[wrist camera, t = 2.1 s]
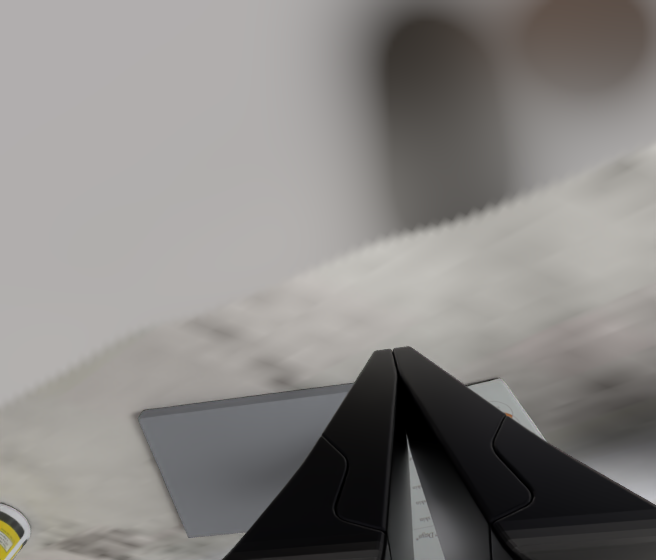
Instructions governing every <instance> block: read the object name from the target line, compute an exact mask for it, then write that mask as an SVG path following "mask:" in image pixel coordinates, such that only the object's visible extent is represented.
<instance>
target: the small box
mask: <svg viewBox="0 0 656 560" xmlns="http://www.w3.org/2000/svg"><path fill="white" fill-rule="evenodd" d="M467 387H468V388H470V389H471V390H473V391H474V392H475V393H477V394H478V395H480V396H481V397H483V398H484V399H485V400H487V401H488V402H490V403H491V404H492V405H494V406H495V407H497V408H498V409H500V410H501V411H502V412H504V413H505V414H506V416H510V417H511V418H513V419H514V420H515V421H517V422H518V423H520V424H521V425H523V426H524V427H525V428H527V429H528V430H530V431H531V432H533V433H535V434H536V435H538V436H539V437H541V438H542V439H544V440H545V438H544V437H543V436H542V434H541V433H540V431H539V430H538V428H537V427H536V425H535V424H534V423H533V421H532V420H531V418H530V417H529V415H528V414H527V413H526V411H525V410H524V408H523V407H522V406H521V404H520V403H519V401H518V400H517V398H516V397H515V396H514V394H513V393H512V391H511V390H510V389H509V387H508V386H507V384H506V383H505V382H504V381H503V379H501V378H499V379H495V380H491V381H487V382H483V383H479V384H474V385H470V386H467ZM406 436H407V435H406ZM545 441H546V440H545ZM407 443H408V440H407ZM408 452H409V469H410V488H411V508H412V527H413V547H414V560H445V558H444V555H443V552H442V549H441V546H440V542H439V539H438V536H437V533H436V530H435V527H434V524H433V521H432V518H431V514H430V511H429V508H428V505H427V502H426V499H425V496H424V493H423V490H422V486H421V483H420V480H419V477H418V474H417V471H416V468H415V465H414V462H413V458H412V455H411V452H410V448H409V444H408Z"/></svg>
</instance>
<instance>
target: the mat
mask: <svg viewBox="0 0 656 560" xmlns="http://www.w3.org/2000/svg"><path fill="white" fill-rule="evenodd" d="M353 384H354V383H351V384H343V385H336V386H328V387H320V388H312V389H305V390H297V391H289V392H281V393H274V394H266V395H258V396H250V397H243V398H235V399H227V400H220V401H212V402H204V403H196V404H189V405H181V406H173V407H165V408H158V409H150V410H144V411H143V412H142V413H141V415H140V416H139V418H138V421H139V423H140V425H141V428H142V430H143V432H144V435H145V437H146V439H147V442H148V444H149V446H150V449H151V451H152V454H153V456H154V458H155V461H156V463H157V465H158V468H159V470H160V472H161V475H162V477H163V479H164V482H165V484H166V486H167V489H168V491H169V493H170V496H171V498H172V500H173V503H174V505H175V507H176V510H177V512H178V514H179V517H180V519H181V521H182V524H183V526H184V528H185V531H186V533H187V535H188V538H193V537H203V536H213V535H223V534H233V533H243V532H247V531H248V530H249V529H250V527H251V526H252V525H253V524H254V523H255V521H256V520H257V519H258V518H259V517H260V515H261V514H262V513H263V512H264V511H265V509H266V508H267V507H268V506H269V505H270V503H271V502H272V501H273V500H274V498H275V497H276V496H277V495H278V494H279V492H280V491H281V490H282V489H283V488H284V486H285V485H286V484H287V482H288V481H289V480H290V479H291V477H292V476H293V475H294V473H295V472H296V471H297V470H298V468H299V467H300V466H301V464H302V463H303V461H304V460H305V458H306V457H307V455H308V454H309V452H310V451H311V450H312V448H313V446H314V445H315V443H316V442H317V440H318V439H319V437H321V434H322V433H323V431H324V429H325V428H326V426H327V425H328V423H329V422H330V420H331V418H332V417H333V415H334V414H335V412H336V411H337V409H338V407H339V406H340V404H341V403H342V401H343V400H344V398H345V396H346V395H347V393H348V392H349V390H350V389H351V387H352V385H353Z"/></svg>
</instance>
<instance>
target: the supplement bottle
mask: <svg viewBox="0 0 656 560" xmlns="http://www.w3.org/2000/svg"><path fill="white" fill-rule="evenodd" d="M30 534H31V529H30V525H29V523H28V521H27V519H26V518H25V517H24V516H23V515H22V514H21V513H20V512H19V511H17V510H16V509H14V508H12V507H10V506H7V505H4V504H0V560H13V559H14V558H15V557H16V555H17V554H18V553H19V551H20V550H21V549H22V547H23V546H24V545H25V544H26V542H27V541H28V539H29V537H30Z"/></svg>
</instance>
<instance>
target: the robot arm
mask: <svg viewBox="0 0 656 560" xmlns="http://www.w3.org/2000/svg"><path fill="white" fill-rule="evenodd" d="M406 435H407V436H406ZM407 440H408V443H407ZM408 444H409V448H410V452H411V455H412V458H413V462H414V465H415V468H416V471H417V474H418V477H419V480H420V483H421V486H422V490H423V493H424V496H425V499H426V502H427V505H428V508H429V511H430V514H431V518H432V521H433V524H434V527H435V530H436V533H437V536H438V539H439V542H440V546H441V549H442V552H443V555H444V558H445V560H656V505H655V504H653V503H651V502H649V501H648V500H646V499H644V498H642V497H641V496H639V495H637V494H636V493H634V492H632V491H630V490H629V489H627V488H625V487H623V486H622V485H620V484H618V483H616V482H615V481H613V480H611V479H609V478H608V477H606V476H604V475H602V474H601V473H599V472H597V471H595V470H594V469H592V468H590V467H588V466H587V465H585V464H583V463H582V462H580V461H578V460H576V459H575V458H573V457H571V456H570V455H568V454H566V453H565V452H563V451H561V450H560V449H558V448H556V447H555V446H553V445H551V444H550V443H548V442H547V441H545V440H544V439H542V438H541V437H539V436H538V435H536V434H535V433H533V432H531V431H530V430H528V429H527V428H525V427H524V426H523V425H521V424H520V423H518V422H517V421H515V420H514V419H513V418H511V417H510V416H506V414H505V413H504V412H502V411H501V410H500V409H498V408H497V407H495V406H494V405H492V404H491V403H490V402H488V401H487V400H485V399H484V398H483V397H481V396H480V395H478V394H477V393H475V392H474V391H473V390H471V389H470V388H468V387H467V386H466V385H464V384H463V383H461V382H460V381H458V380H457V379H456V378H454V377H453V376H451V375H450V374H449V373H447V372H446V371H444V370H443V369H441V368H440V367H439V366H437V365H436V364H434V363H433V362H432V361H430V360H429V359H427V358H426V357H424V356H423V355H422V354H420V353H419V352H417V351H416V350H415V349H413V348H412V347H409V346H407V347H400V348H394V349H393V352H392V350H391V349H385V350H377V351H374V352H373V354H372V356H371V357H370V359H369V360H368V362H367V363H366V365H365V367H364V368H363V370H362V371H361V373H360V374H359V376H358V378H357V379H356V381H355V382H354V384H353V385H352V387H351V389H350V390H349V392H348V393H347V395H346V396H345V398H344V400H343V401H342V403H341V404H340V406H339V407H338V409H337V411H336V412H335V414H334V415H333V417H332V418H331V420H330V422H329V423H328V425H327V426H326V428H325V429H324V431H323V433H322V434H321V437H319V439H318V440H317V442H316V443H315V445H314V446H313V448H312V450H311V451H310V452H309V454H308V455H307V457H306V458H305V460H304V461H303V463H302V464H301V466H300V467H299V468H298V470H297V471H296V472H295V473H294V475H293V476H292V477H291V479H290V480H289V481H288V482H287V484H286V485H285V486H284V488H283V489H282V490H281V491H280V492H279V494H278V495H277V496H276V497H275V498H274V500H273V501H272V502H271V503H270V505H269V506H268V507H267V508H266V509H265V511H264V512H263V513H262V514H261V515H260V517H259V518H258V519H257V520H256V521H255V523H254V524H253V525H252V526H251V527H250V529H249V530H248V531H247V532H246V534H245V535H244V536H243V537H242V538H241V540H240V541H239V542H238V543H237V544H236V545H235V547H234V548H233V549H232V550H231V551H230V552H229V553H228V554H227V555H226V556H225V557H224V558H223V559H222V560H414V547H413V527H412V508H411V488H410V469H409V452H408Z"/></svg>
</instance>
